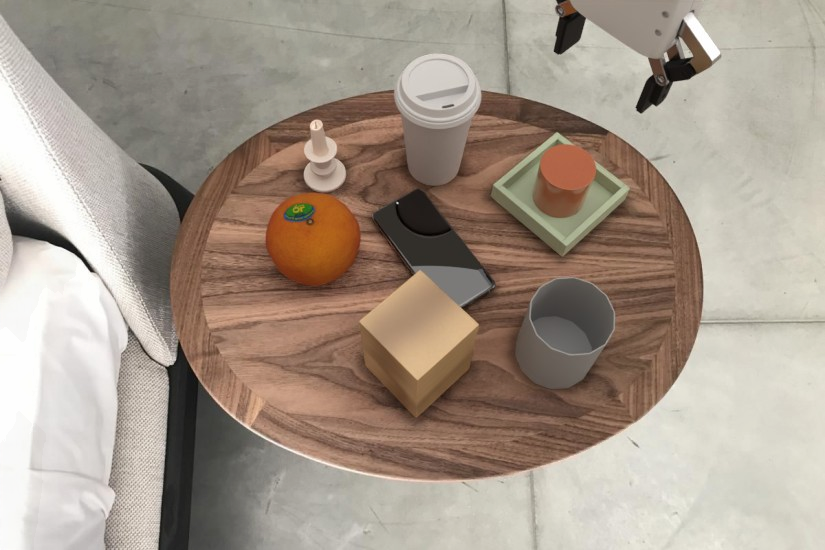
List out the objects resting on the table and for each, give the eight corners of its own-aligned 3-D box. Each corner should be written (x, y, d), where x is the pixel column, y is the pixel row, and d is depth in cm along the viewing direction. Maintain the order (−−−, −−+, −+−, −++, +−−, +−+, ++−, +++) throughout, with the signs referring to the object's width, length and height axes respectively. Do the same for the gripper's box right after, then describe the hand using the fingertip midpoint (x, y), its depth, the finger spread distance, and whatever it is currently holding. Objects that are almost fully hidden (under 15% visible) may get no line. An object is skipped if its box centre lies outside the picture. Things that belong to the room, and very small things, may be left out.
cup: (504, 328, 80) (516, 289, 71) (572, 308, 81) (593, 267, 72) (532, 399, 76) (549, 366, 67) (603, 377, 77) (629, 342, 69)
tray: (624, 200, 88) (630, 188, 86) (562, 257, 84) (566, 246, 82) (553, 144, 92) (557, 131, 89) (490, 196, 88) (492, 184, 86)
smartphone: (446, 317, 79) (368, 213, 85) (445, 321, 80) (369, 218, 86) (499, 284, 81) (420, 185, 87) (498, 289, 82) (420, 190, 88)
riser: (469, 368, 78) (479, 324, 67) (416, 418, 75) (417, 380, 65) (418, 319, 80) (420, 269, 70) (365, 365, 78) (358, 321, 67)
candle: (314, 199, 88) (303, 146, 78) (297, 168, 90) (285, 113, 81) (353, 183, 89) (346, 129, 80) (335, 152, 91) (327, 96, 82)
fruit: (379, 267, 83) (376, 231, 76) (301, 312, 81) (291, 280, 74) (331, 202, 87) (325, 163, 80) (256, 244, 85) (242, 207, 78)
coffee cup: (390, 192, 88) (388, 111, 75) (400, 130, 93) (399, 43, 79) (468, 200, 88) (479, 120, 74) (474, 137, 92) (486, 52, 79)
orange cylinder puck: (595, 196, 87) (607, 167, 82) (560, 227, 85) (571, 199, 80) (555, 165, 90) (565, 134, 84) (521, 194, 87) (528, 165, 82)
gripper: (798, -63, 50) (707, 105, 65) (603, -171, 56) (562, 6, 71) (734, -12, 47) (656, 151, 62) (537, -130, 53) (509, 45, 68)
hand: (606, 74), depth 66 cm, fingers open, 9 cm apart
